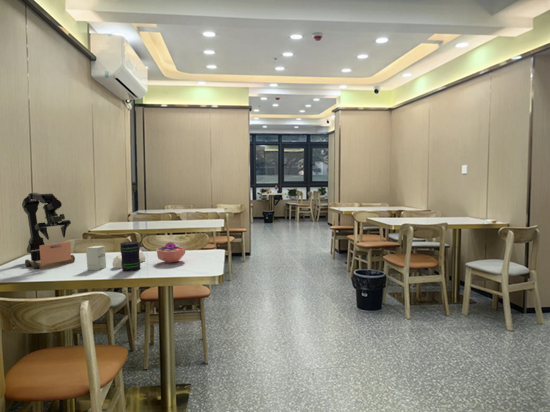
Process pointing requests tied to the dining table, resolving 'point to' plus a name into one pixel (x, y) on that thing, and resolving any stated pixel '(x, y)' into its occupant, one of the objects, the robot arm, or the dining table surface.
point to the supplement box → (96, 257)
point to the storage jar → (130, 256)
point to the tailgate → (55, 252)
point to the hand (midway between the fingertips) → (56, 238)
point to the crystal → (118, 260)
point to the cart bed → (38, 263)
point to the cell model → (170, 253)
